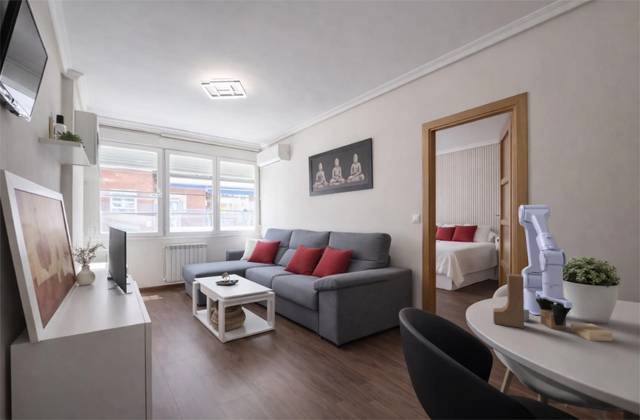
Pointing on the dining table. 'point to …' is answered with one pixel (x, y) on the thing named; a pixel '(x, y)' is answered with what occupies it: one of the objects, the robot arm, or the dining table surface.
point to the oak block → (591, 332)
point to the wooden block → (512, 303)
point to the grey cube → (526, 314)
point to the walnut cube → (550, 320)
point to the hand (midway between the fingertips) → (553, 322)
